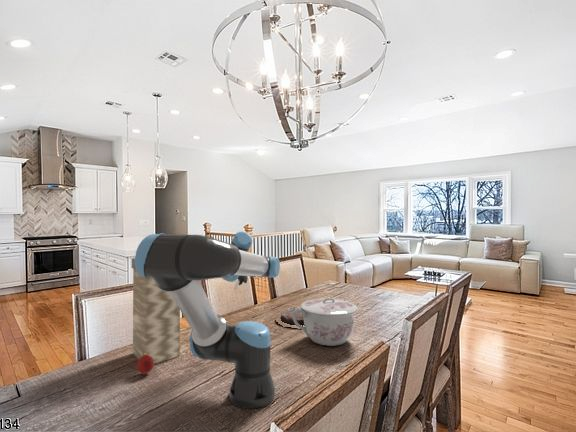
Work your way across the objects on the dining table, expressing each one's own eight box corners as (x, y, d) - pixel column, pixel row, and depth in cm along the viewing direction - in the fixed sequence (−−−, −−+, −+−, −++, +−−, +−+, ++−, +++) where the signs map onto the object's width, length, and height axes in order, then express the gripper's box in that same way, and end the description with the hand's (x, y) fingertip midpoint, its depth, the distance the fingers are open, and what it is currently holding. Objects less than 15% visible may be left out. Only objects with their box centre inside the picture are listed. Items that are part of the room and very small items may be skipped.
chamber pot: (365, 337, 159) (365, 295, 159) (345, 358, 135) (346, 309, 135) (314, 326, 173) (314, 288, 173) (288, 344, 150) (289, 299, 150)
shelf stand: (145, 366, 126) (146, 262, 126) (132, 353, 138) (133, 258, 138) (179, 356, 136) (180, 259, 136) (165, 344, 148) (165, 256, 148)
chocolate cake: (267, 326, 174) (267, 314, 174) (284, 312, 200) (284, 301, 200) (317, 333, 165) (317, 320, 165) (328, 316, 191) (328, 305, 191)
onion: (149, 369, 124) (149, 348, 124) (156, 373, 121) (156, 352, 121) (134, 374, 120) (134, 353, 120) (141, 379, 116) (141, 357, 116)
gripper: (262, 260, 140) (248, 283, 155) (207, 241, 135) (198, 267, 150) (259, 274, 135) (245, 297, 149) (202, 255, 130) (193, 280, 145)
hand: (221, 282), depth 150 cm, fingers open, 13 cm apart
